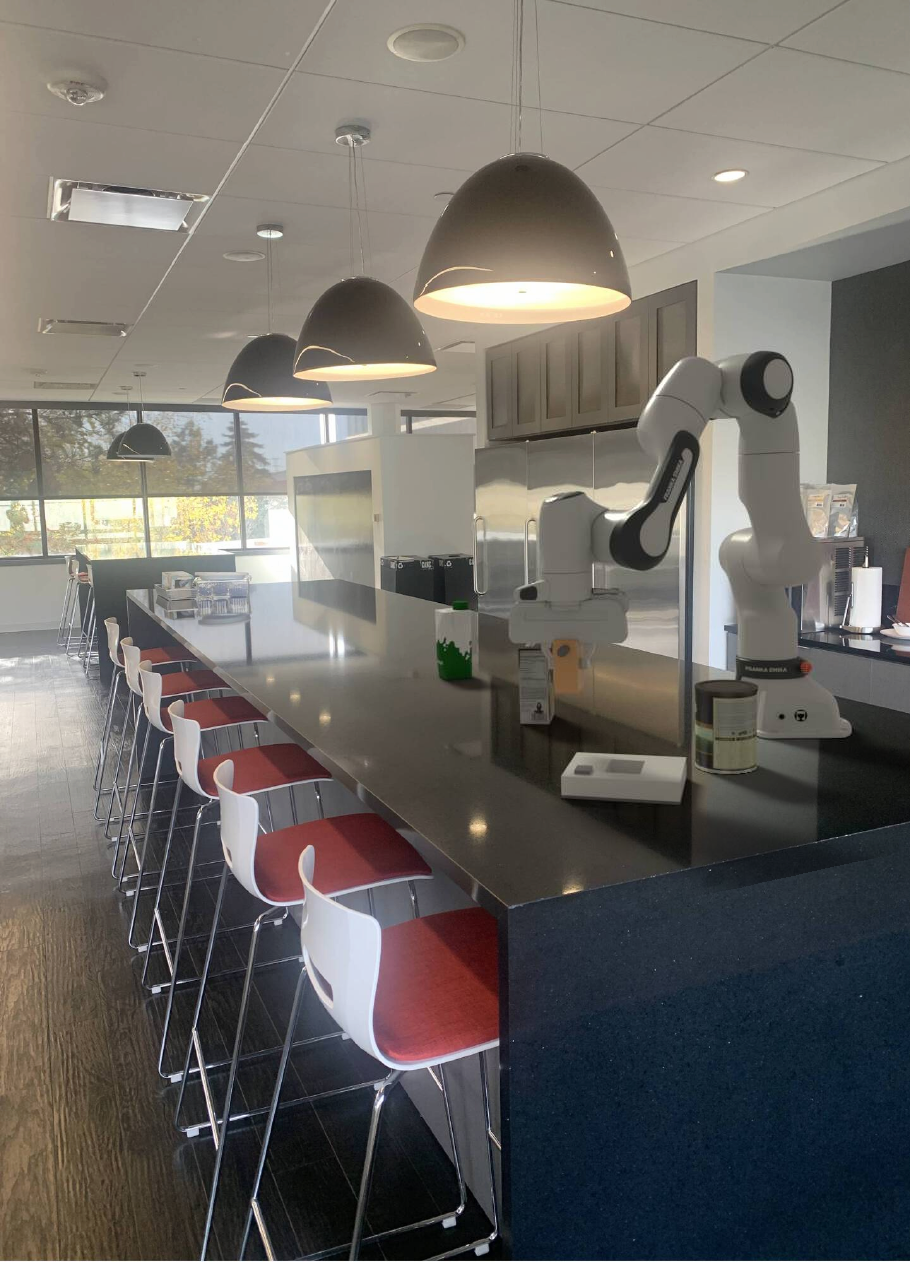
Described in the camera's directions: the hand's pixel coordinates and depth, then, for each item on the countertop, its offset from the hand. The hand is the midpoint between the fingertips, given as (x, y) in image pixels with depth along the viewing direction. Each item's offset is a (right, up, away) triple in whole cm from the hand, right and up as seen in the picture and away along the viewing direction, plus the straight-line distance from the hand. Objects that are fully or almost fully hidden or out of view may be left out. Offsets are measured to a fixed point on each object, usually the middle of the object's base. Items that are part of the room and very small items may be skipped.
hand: (568, 668), depth 162 cm
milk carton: (-20, -6, +88) cm, 91 cm away
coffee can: (+26, -17, -2) cm, 31 cm away
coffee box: (-2, -12, +37) cm, 39 cm away
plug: (0, -4, -1) cm, 4 cm away
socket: (+8, -19, -11) cm, 23 cm away
